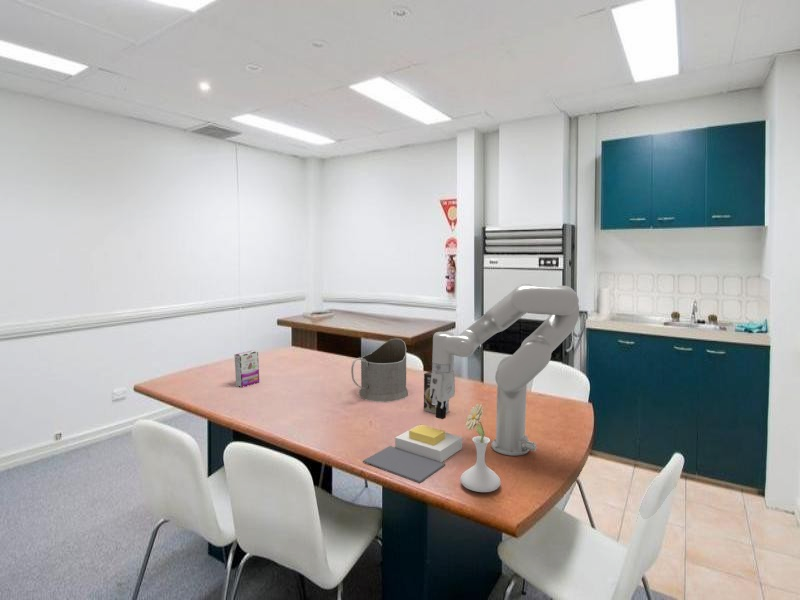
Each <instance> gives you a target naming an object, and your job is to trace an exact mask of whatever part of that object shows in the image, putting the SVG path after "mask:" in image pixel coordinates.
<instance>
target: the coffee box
mask: <svg viewBox="0 0 800 600" xmlns="http://www.w3.org/2000/svg"><path fill="white" fill-rule="evenodd" d="M431 376H432V371H428V372H424V373H423V411H425V412H428V413H431V414H434V415H436V407H435V405H432V400H431V399H430V383H431ZM449 408H450V399H449V400H448V401H447V407H446V414H447V413H449V412H450V409H449Z"/></svg>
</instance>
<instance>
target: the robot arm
mask: <svg viewBox="0 0 800 600" xmlns="http://www.w3.org/2000/svg"><path fill="white" fill-rule="evenodd" d="M579 300H580V299H579V297H578V294H577V293H576V291H575V290H574V289H573V288H572V287H570V286H568V285H559V286H557V287H552V286H551V287H545V286H534V285H532V284H530V283H529V284H528V283H524V284H523V283H522V284H519V286H517V287H516V288H514V289H513V290H512V291H510V292H509V293H508V294H506V296H504V297H503V298H502V299H500V300H499V301H498V302H497V303H495V304H494V305H492V307H490V308H489V309H488V310H487V311H486V312H485V313H484V314H483V315H482V316H481V317H480V318H478V319H477V320H476V321H475V322H473V324H471V325H470V326H469V327H467V328H466V329H465V330H463V331H462V332H461V333H460V334H459V335H455V334H454V333H453V332H450V331H449V332H448V331H437V332H435V333H434V334H433V335H432V336H433V337H432V353H431V355H432V358H431V360H432V361H431V372H432V376H431V383H430V399H431V400H432V405H435V407H436V414H435V418H437V419H439V420H444V419H446V418H447V413H446V407H447V401H448V400H449V401H450V399H452V398H453V397H455V393H456V392H455V391H456V379H455V371H454V365H455V364H454V363H455V356H457V357H460V358H468V357H471V356H472V355H473V354H474V352H475V351H476V350H477V349H478V348H479V347H480V346H481V345H482V344H484V343H485V342H486V341H487V340H489V339H490V338H492V337H493V336H494V335H496V334H497V333H500V332H504V331H505V330H506V329H508V328H509V327H510V326H512V325H513V324H514V323H516V322H517V321H518V320H519V319H521V318H522V317H524V316H525V315H526V314H534V315H549V316H548V317H547V318H546V319H545V320H544V321H543V322H542V323H541V324H540V325H539V326H538V327H537V328H536V329H534V331H533V332H532V333H531V334H529V336H527V337H526V338H524V340H523V341H522V342H521V345H520V346H519V348H518V349H517V350H516V351H515V352H514V353H513V354H511V355H508V356H506V357H503V358H502V359H501V360H500V361H499V363H498V364H497V365H498V366H497V367H496V370H495V371H496V372H495V377H494V378H495V383H496V385H497V392H496V398H497V399H496V425H495V426H496V427H495V429H496V430H495V431H496V432H495V439H494V440H492V441H491V445H490V446H491V448H492V450H493V451H495V452H497V453H499V454H501V455H505V456H511V457H513V456H523V455H526V454H528V453H529V452H530V451H533V452H536V451H537V445H536V442H533V441H530V440H529V439H528V437H529V436H528V435H526V415H527V413H526V411H527V410H526V409H527V408H526V405H527V388H528V387H527V386H528V384H529V383H530V382H531V381H532V380H533V379H534V378H536V377H537V376H538V375H539V374H540V373H541V372H542V371H543V370H544V369H545V368H546V367H547V366H548V364H549V363H550V361H551V358H552V353H553V351H555V350H556V349H557V348H558V347H559V346H560V345H561V344H562V343H563V342H564V341H565V339H567V338H568V337H569V335H571V333H572V332H573V331H574V329H575V327H576V326H577V324H578V323H577V322H578V321H579V315H580V305H579V302H580V301H579Z"/></svg>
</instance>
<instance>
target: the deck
mask: <svg viewBox="0 0 800 600" xmlns="http://www.w3.org/2000/svg"><path fill="white" fill-rule="evenodd" d="M417 426H419V425H415V426H414V427H412V428H411V429H409V430H407V431H404V432H403V433H401V434H400V435H397V436H395V437H394V447H395V448H399V449H402V450H405V451H408V452H411V453H414V454H417V455H420V456H424V457H427V458H430V459H433V460H436V461H439V462H442V463H444V461H446V460H447V459H449V458H450V457H451V456H453V455H455V454H456V453H457V452H458V453H459V451H461V450H462V449H463V436H460V435H456V434H452V433H448V432H446V431H445V439H444V440H442V441H440V442H439V443H437V444H435V445H431V444H428V443H424V442H421V441H418V440H414V439H411V438H409V431H410V430H412V429H413V428H415V427H417Z"/></svg>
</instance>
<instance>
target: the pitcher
mask: <svg viewBox="0 0 800 600" xmlns="http://www.w3.org/2000/svg"><path fill="white" fill-rule="evenodd" d="M358 360H360V378H361V379H360V383H361V384H360V385H359V384H358V383H357V382H356V380H355V376H354V375H355V374H354V366H355V363H356V362H357V361H358ZM350 372H351V378H352V382H353V383H354V385H356V386H357V387H358V388H360V391H359V393H358V395H359V398H361V399H363V400H365V399H366V401H369V402H376V403H377V402H379V403H389V402H397V401H400V400H403V399H406V398H408V396H409V394H408V393H409V391H408V389H407V346H406V343H405V341H403V340H402V339H401V338H391V339H389V340H387V341H385V342H384V343H383V344H381V345H380V346H379V347H378V348H377V349H375V350H374V351H372V352H371V353H368V354H365V355H363V356H362V357H357V358H355V359H354V360H353V362H352V364H351V369H350ZM405 397H406V398H405Z"/></svg>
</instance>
